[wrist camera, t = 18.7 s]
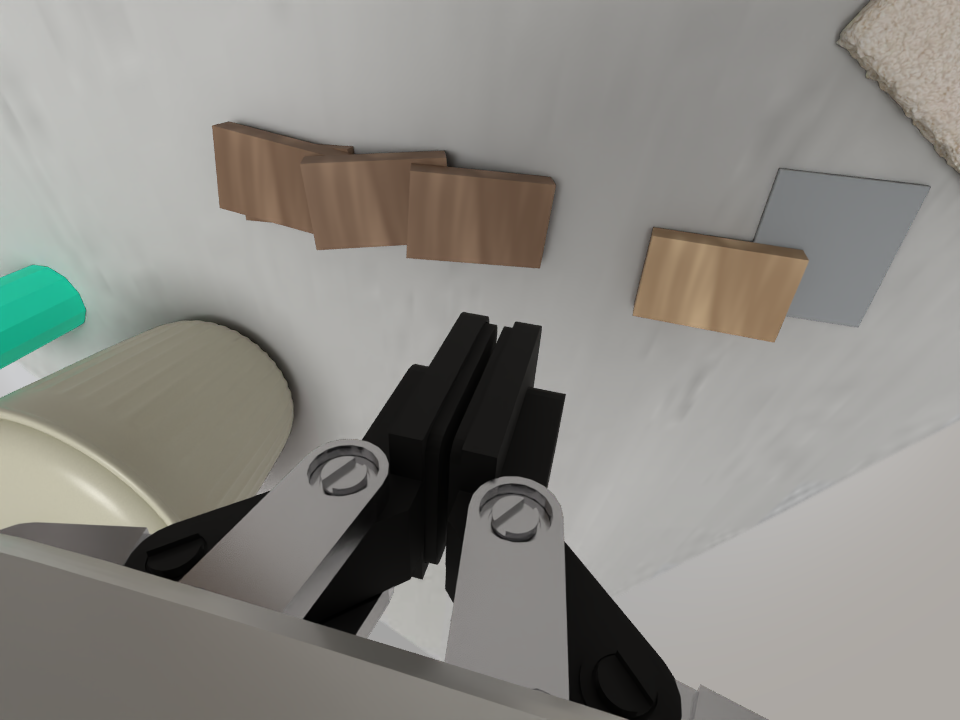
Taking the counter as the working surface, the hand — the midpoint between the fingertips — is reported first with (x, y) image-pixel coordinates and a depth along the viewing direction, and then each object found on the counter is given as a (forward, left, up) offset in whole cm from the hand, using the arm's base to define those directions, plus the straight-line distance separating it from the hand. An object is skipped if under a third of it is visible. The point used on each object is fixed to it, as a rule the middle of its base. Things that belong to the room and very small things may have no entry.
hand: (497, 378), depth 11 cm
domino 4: (-13, +6, -21) cm, 25 cm away
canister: (+26, +21, -23) cm, 41 cm away
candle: (+42, +16, -23) cm, 51 cm away
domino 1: (+14, +4, -21) cm, 25 cm away
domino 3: (+2, +4, -22) cm, 22 cm away
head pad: (-14, +3, -23) cm, 26 cm away
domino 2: (+7, +3, -22) cm, 23 cm away
